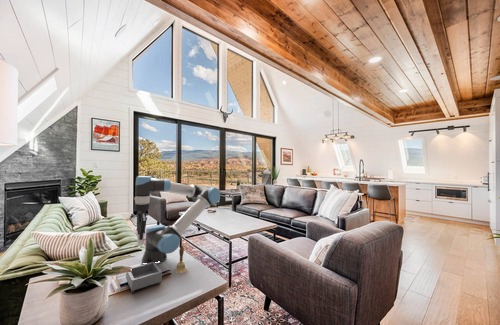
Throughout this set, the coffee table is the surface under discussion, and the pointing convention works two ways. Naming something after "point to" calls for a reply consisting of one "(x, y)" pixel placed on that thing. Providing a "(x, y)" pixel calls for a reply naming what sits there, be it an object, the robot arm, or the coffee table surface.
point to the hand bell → (181, 262)
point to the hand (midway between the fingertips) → (140, 244)
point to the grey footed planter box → (144, 276)
